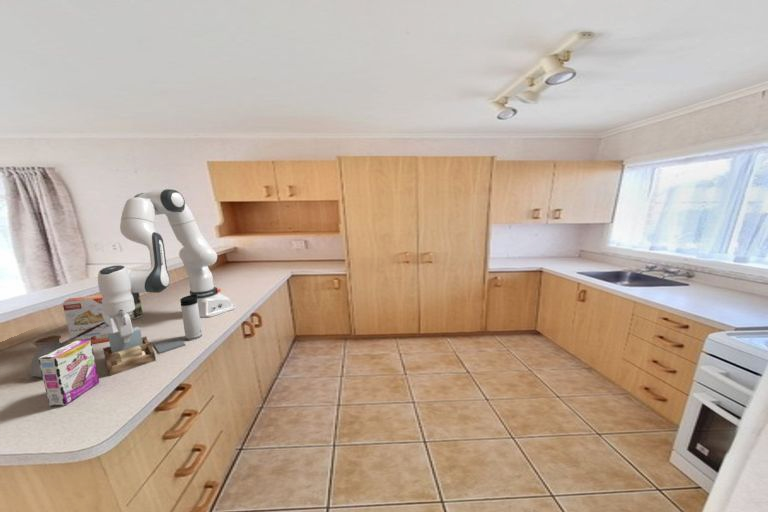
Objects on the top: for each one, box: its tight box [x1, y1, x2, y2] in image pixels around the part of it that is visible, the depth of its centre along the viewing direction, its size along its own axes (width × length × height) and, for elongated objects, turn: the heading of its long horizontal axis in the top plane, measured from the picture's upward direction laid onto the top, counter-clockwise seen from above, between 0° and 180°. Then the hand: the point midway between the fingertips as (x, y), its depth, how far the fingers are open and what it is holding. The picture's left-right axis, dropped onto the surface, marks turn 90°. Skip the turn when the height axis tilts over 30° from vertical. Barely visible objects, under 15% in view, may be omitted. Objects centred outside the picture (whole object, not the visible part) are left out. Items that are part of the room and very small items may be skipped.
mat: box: [153, 336, 186, 355], centre depth 118 cm, size 9×10×1 cm
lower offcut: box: [116, 351, 146, 364], centre depth 104 cm, size 8×4×4 cm, turn 139°
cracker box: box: [62, 294, 118, 345], centre depth 120 cm, size 14×6×21 cm, turn 117°
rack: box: [102, 336, 157, 377], centre depth 106 cm, size 13×16×5 cm
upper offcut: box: [118, 345, 142, 362], centre depth 103 cm, size 6×3×3 cm, turn 146°
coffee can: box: [129, 293, 144, 321], centre depth 146 cm, size 10×10×14 cm
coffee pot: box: [27, 322, 108, 379], centre depth 102 cm, size 21×12×15 cm, turn 134°
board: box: [108, 326, 143, 353], centre depth 108 cm, size 9×4×11 cm, turn 140°
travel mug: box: [179, 294, 203, 341], centre depth 124 cm, size 6×7×20 cm
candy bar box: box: [38, 340, 100, 407], centre depth 86 cm, size 11×5×16 cm, turn 5°
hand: (125, 339), depth 108 cm, fingers closed on board, 4 cm apart
